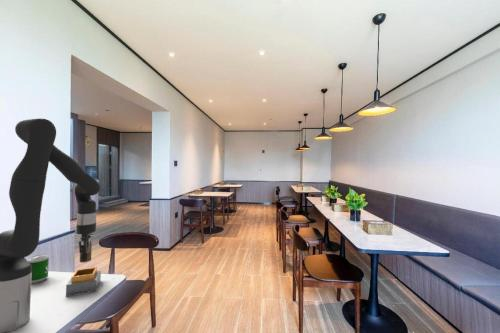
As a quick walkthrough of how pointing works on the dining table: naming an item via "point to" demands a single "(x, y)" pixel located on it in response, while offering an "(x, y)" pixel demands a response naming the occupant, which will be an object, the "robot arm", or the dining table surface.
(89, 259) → the walnut plug
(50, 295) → the dining table surface
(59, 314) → the dining table surface
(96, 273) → the box
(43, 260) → the soda can
